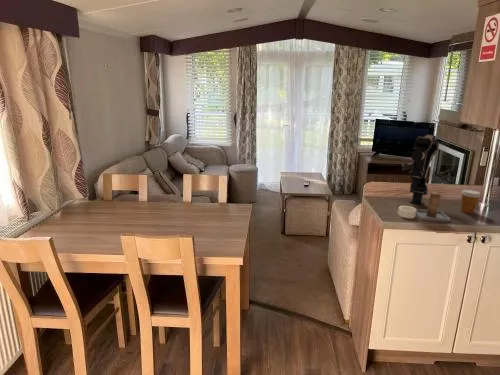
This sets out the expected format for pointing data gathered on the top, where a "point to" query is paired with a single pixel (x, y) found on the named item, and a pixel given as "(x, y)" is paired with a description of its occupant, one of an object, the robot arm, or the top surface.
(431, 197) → the dowel peg
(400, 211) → the white nut
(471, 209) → the disposable coffee cup
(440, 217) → the tray
